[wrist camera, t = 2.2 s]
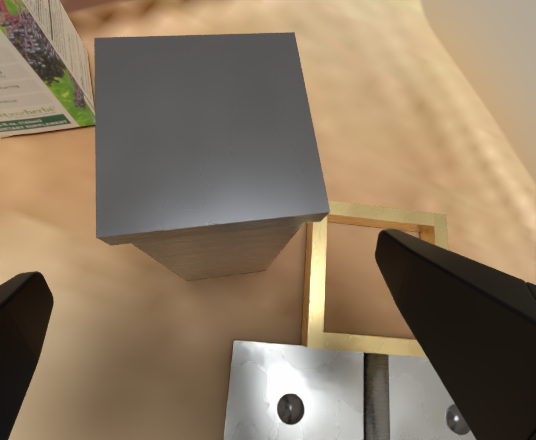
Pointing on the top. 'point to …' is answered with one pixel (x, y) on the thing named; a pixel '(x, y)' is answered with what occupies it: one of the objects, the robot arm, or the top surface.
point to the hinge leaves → (342, 364)
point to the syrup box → (42, 70)
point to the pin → (204, 150)
